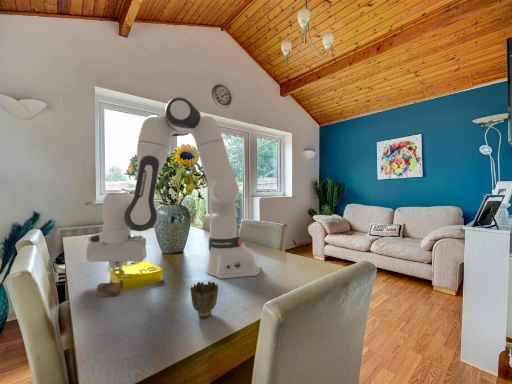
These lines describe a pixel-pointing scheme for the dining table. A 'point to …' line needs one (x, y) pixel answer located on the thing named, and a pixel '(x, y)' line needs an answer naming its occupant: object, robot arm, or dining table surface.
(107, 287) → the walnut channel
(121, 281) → the element tile
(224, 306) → the dining table surface
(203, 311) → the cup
